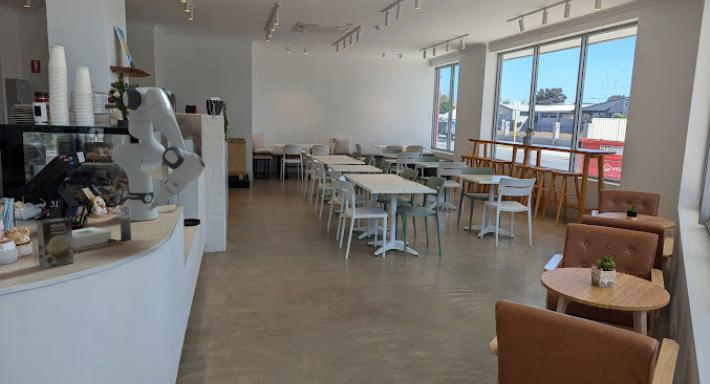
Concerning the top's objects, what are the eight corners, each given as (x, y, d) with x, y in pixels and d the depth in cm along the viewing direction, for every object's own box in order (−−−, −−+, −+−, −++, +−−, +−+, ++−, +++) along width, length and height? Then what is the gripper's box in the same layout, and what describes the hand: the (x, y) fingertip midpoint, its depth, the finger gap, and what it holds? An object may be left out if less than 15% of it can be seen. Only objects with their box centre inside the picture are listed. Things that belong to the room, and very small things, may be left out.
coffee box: (45, 268, 166) (42, 223, 164) (39, 265, 170) (35, 220, 168) (74, 263, 173) (71, 219, 171) (67, 259, 177) (64, 216, 175)
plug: (119, 240, 206) (117, 217, 205) (128, 238, 210) (126, 215, 208) (124, 241, 204) (123, 218, 203) (133, 239, 207) (132, 217, 206)
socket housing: (59, 242, 197) (58, 232, 196) (93, 236, 208) (93, 227, 208) (76, 247, 189) (75, 237, 188) (111, 241, 201) (110, 231, 200)
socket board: (49, 244, 198) (49, 239, 197) (93, 236, 212) (93, 231, 212) (76, 253, 185) (76, 248, 185) (121, 244, 200) (121, 239, 200)
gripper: (170, 177, 218) (148, 198, 217) (166, 182, 198) (141, 206, 197) (181, 186, 220) (159, 208, 219) (178, 193, 200) (153, 217, 199)
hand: (150, 207), depth 208 cm, fingers open, 8 cm apart
